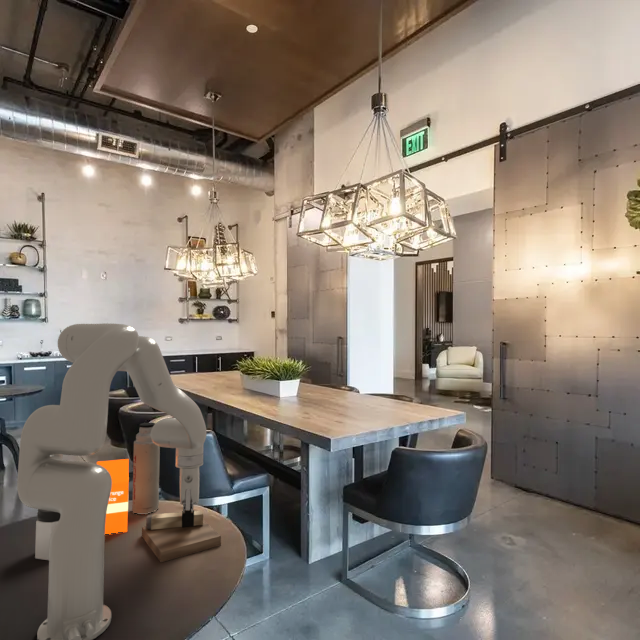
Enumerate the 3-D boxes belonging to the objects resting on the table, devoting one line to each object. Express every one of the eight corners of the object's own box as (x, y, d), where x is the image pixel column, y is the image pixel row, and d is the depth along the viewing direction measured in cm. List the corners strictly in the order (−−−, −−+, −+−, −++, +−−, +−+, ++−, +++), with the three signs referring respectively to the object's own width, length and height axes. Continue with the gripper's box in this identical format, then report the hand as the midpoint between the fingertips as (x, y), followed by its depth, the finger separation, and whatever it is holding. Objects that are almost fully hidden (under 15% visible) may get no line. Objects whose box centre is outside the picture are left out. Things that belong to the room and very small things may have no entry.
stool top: (220, 545, 121) (220, 535, 121) (160, 562, 112) (161, 552, 112) (196, 522, 136) (196, 514, 136) (141, 536, 126) (142, 527, 126)
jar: (42, 547, 119) (43, 501, 120) (75, 543, 122) (77, 498, 122) (31, 563, 111) (32, 514, 111) (67, 558, 113) (69, 510, 114)
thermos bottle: (130, 516, 140) (133, 426, 141) (133, 506, 148) (135, 421, 149) (157, 513, 142) (159, 425, 143) (159, 504, 150) (160, 420, 151)
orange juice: (95, 526, 133) (97, 458, 133) (127, 521, 136) (129, 455, 137) (93, 537, 125) (95, 465, 126) (127, 532, 129) (129, 462, 130)
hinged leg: (145, 530, 124) (145, 519, 124) (146, 525, 126) (147, 515, 127) (203, 524, 127) (203, 514, 128) (203, 520, 130) (203, 510, 130)
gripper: (203, 466, 119) (201, 536, 118) (203, 452, 134) (201, 514, 133) (173, 467, 117) (171, 539, 116) (177, 453, 132) (175, 517, 131)
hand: (187, 525), depth 125 cm, fingers closed
